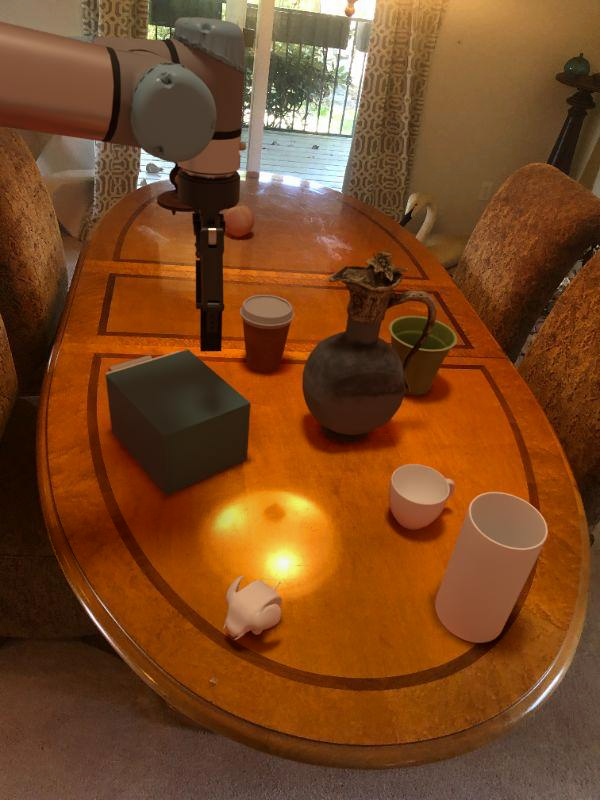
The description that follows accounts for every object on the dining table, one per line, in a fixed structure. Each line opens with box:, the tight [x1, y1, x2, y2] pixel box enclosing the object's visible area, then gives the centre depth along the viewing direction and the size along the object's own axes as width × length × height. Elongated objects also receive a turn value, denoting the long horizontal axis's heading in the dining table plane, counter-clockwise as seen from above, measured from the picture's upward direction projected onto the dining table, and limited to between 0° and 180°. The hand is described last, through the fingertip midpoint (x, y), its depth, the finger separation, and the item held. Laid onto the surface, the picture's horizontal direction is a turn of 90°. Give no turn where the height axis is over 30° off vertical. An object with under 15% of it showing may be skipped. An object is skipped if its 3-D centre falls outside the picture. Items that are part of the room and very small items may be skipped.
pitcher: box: [301, 251, 438, 444], centre depth 92 cm, size 11×19×30 cm, turn 104°
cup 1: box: [388, 463, 456, 531], centre depth 84 cm, size 8×10×7 cm
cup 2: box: [434, 491, 549, 644], centre depth 69 cm, size 8×8×16 cm
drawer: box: [104, 350, 182, 422], centre depth 93 cm, size 21×12×9 cm, turn 39°
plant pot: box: [388, 315, 458, 396], centre depth 110 cm, size 12×12×11 cm
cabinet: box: [105, 349, 251, 497], centre depth 90 cm, size 17×14×11 cm
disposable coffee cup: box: [239, 294, 295, 374], centre depth 111 cm, size 10×10×12 cm
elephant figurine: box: [223, 575, 283, 641], centre depth 68 cm, size 7×8×6 cm
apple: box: [223, 204, 255, 238], centre depth 162 cm, size 8×8×8 cm
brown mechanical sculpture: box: [156, 162, 196, 216], centre depth 171 cm, size 15×15×20 cm
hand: (207, 324), depth 86 cm, fingers open, 13 cm apart
